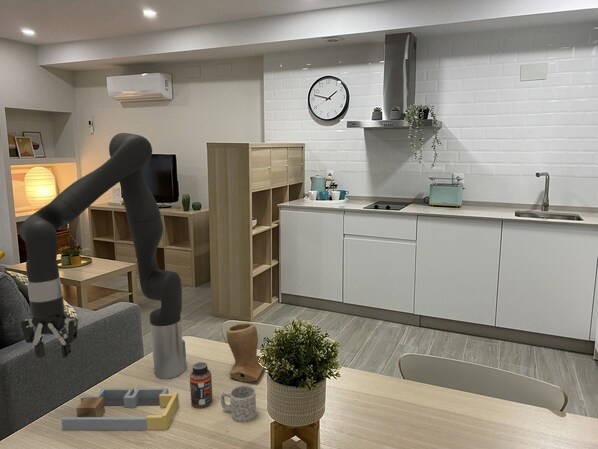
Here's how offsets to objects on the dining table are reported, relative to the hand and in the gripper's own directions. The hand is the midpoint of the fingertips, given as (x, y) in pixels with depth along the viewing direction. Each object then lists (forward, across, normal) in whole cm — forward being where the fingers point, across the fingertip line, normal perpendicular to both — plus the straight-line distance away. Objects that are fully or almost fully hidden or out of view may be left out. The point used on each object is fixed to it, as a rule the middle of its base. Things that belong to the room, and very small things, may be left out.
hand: (53, 356), depth 121 cm
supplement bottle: (+18, +36, +7) cm, 41 cm away
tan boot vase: (+18, +46, +24) cm, 55 cm away
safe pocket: (+18, +28, 0) cm, 33 cm away
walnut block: (+18, +8, 0) cm, 19 cm away
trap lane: (+18, +15, +2) cm, 23 cm away
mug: (+18, +47, +2) cm, 51 cm away
